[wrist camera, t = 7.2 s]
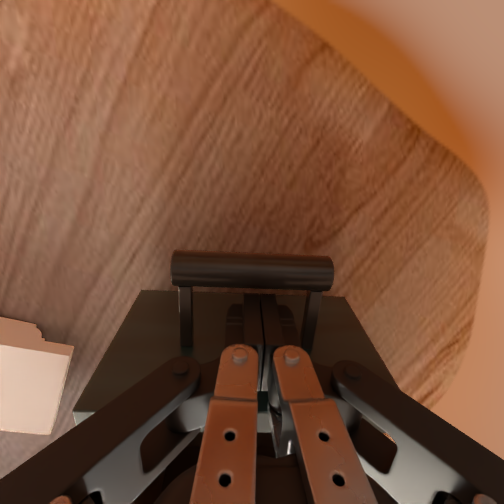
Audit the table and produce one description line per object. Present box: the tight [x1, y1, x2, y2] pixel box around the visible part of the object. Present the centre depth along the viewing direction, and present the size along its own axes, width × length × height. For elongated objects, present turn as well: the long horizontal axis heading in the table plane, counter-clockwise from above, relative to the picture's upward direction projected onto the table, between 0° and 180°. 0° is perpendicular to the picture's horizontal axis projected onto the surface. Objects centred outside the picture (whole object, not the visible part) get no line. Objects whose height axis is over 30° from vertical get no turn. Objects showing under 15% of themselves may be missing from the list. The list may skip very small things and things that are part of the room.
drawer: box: [72, 249, 401, 504], centre depth 18 cm, size 20×13×9 cm
